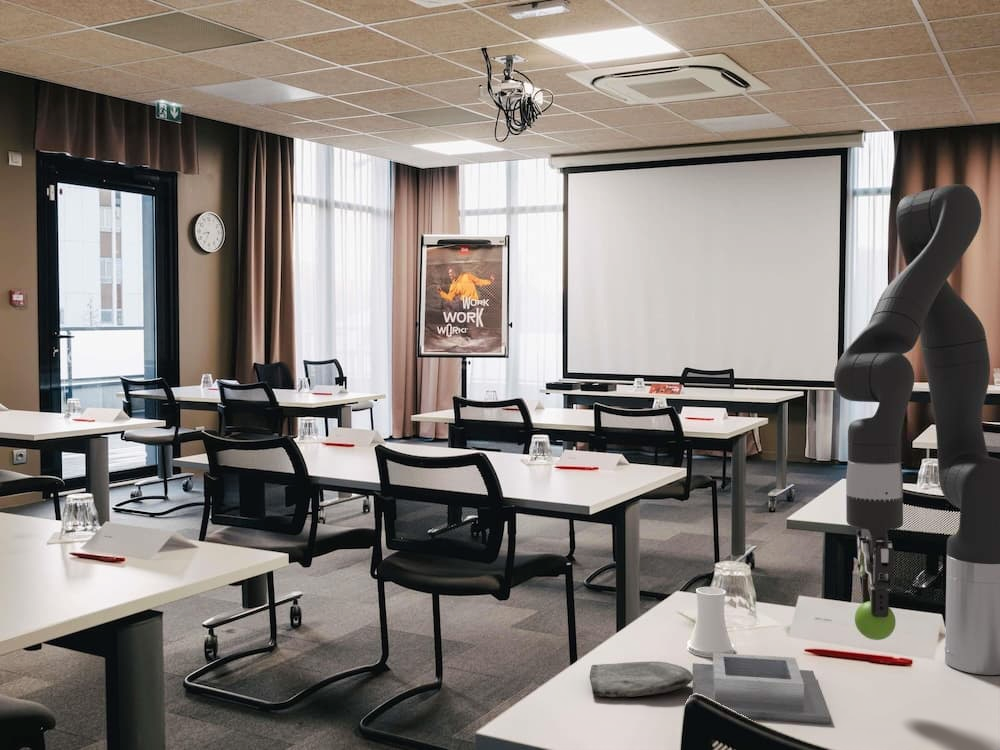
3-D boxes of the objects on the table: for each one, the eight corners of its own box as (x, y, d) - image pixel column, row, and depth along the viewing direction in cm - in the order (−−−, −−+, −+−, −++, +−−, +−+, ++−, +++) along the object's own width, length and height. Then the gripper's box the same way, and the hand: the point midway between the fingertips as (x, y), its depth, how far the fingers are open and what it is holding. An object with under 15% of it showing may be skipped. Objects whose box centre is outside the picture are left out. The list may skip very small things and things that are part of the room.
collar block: (812, 677, 146) (813, 651, 146) (830, 724, 128) (830, 694, 128) (692, 669, 149) (692, 644, 149) (693, 714, 132) (693, 685, 131)
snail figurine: (893, 632, 139) (893, 551, 139) (897, 646, 133) (896, 560, 133) (853, 630, 141) (853, 549, 140) (855, 643, 135) (854, 559, 134)
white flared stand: (732, 644, 161) (732, 585, 161) (735, 659, 154) (735, 597, 154) (686, 641, 163) (687, 583, 162) (687, 656, 155) (688, 595, 155)
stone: (691, 676, 146) (593, 687, 147) (687, 650, 146) (589, 661, 148) (697, 695, 135) (592, 707, 136) (693, 667, 135) (588, 679, 137)
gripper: (914, 501, 128) (915, 626, 129) (890, 484, 142) (891, 597, 143) (856, 501, 130) (856, 624, 130) (838, 484, 144) (838, 595, 144)
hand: (874, 609), depth 137 cm, fingers closed on snail figurine, 5 cm apart
